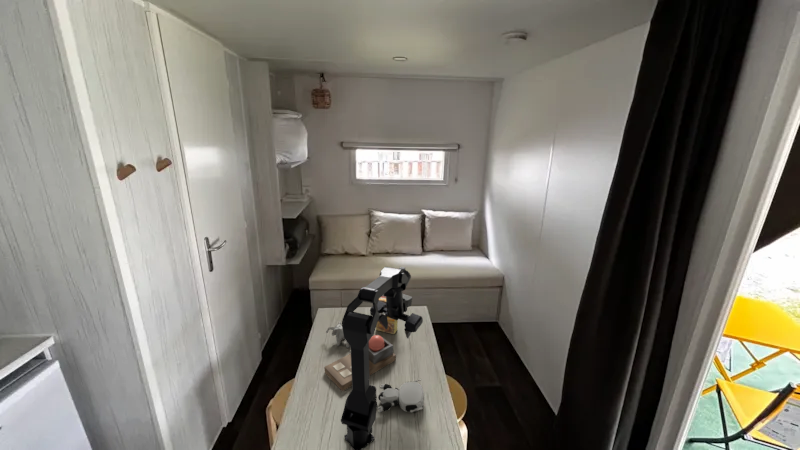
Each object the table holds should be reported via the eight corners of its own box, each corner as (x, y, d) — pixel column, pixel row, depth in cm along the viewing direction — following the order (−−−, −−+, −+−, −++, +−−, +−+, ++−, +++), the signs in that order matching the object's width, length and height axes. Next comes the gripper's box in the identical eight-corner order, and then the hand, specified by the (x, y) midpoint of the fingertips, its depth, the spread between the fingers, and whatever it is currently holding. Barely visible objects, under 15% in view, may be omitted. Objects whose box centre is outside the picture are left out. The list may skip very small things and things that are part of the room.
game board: (342, 391, 114) (341, 375, 113) (324, 372, 123) (323, 357, 121) (395, 360, 130) (395, 345, 128) (376, 345, 138) (376, 331, 136)
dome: (375, 357, 125) (374, 343, 124) (365, 349, 130) (365, 336, 128) (387, 350, 129) (387, 337, 127) (377, 343, 133) (377, 330, 132)
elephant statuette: (354, 349, 136) (355, 332, 134) (324, 349, 135) (324, 333, 133) (354, 335, 145) (355, 320, 143) (326, 336, 144) (326, 320, 142)
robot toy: (377, 420, 105) (425, 418, 104) (376, 408, 104) (424, 406, 103) (380, 390, 117) (423, 388, 116) (379, 379, 115) (422, 377, 115)
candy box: (375, 330, 148) (375, 299, 144) (379, 325, 152) (379, 295, 147) (394, 334, 145) (394, 303, 141) (397, 329, 149) (398, 298, 145)
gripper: (429, 293, 116) (430, 327, 124) (384, 279, 125) (387, 311, 132) (414, 313, 108) (415, 348, 115) (367, 296, 117) (371, 329, 124)
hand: (397, 333), depth 122 cm, fingers open, 9 cm apart
